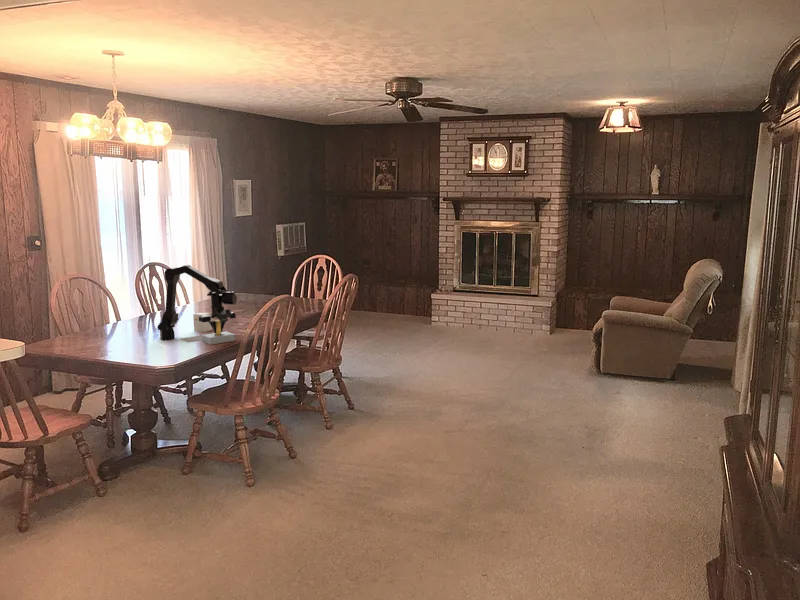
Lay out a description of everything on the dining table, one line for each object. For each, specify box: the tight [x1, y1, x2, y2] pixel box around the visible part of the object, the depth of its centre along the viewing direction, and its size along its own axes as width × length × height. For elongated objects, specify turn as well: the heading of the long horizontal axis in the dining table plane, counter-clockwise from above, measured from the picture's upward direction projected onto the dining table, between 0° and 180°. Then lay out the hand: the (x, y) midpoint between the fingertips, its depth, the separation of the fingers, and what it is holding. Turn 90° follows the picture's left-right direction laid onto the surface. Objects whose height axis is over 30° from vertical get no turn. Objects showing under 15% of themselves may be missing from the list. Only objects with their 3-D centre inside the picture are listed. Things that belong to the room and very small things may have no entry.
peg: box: [215, 319, 221, 336], centre depth 354 cm, size 3×3×9 cm
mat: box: [179, 334, 203, 343], centre depth 360 cm, size 14×12×1 cm
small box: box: [192, 312, 212, 333], centre depth 381 cm, size 8×6×10 cm
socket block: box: [201, 330, 236, 345], centre depth 355 cm, size 14×10×4 cm
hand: (218, 332), depth 354 cm, fingers closed on peg, 3 cm apart
